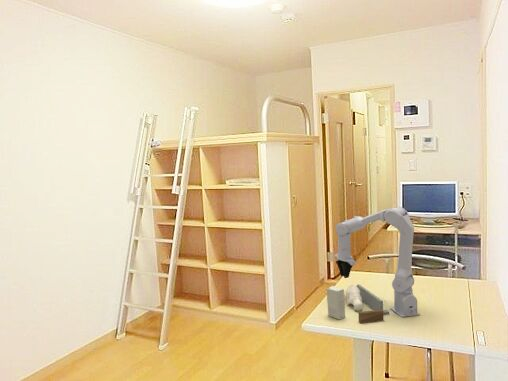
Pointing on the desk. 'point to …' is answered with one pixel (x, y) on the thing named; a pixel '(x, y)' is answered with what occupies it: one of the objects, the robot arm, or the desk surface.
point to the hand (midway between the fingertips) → (344, 276)
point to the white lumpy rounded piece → (354, 297)
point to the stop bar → (371, 316)
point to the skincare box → (335, 302)
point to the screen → (371, 300)
